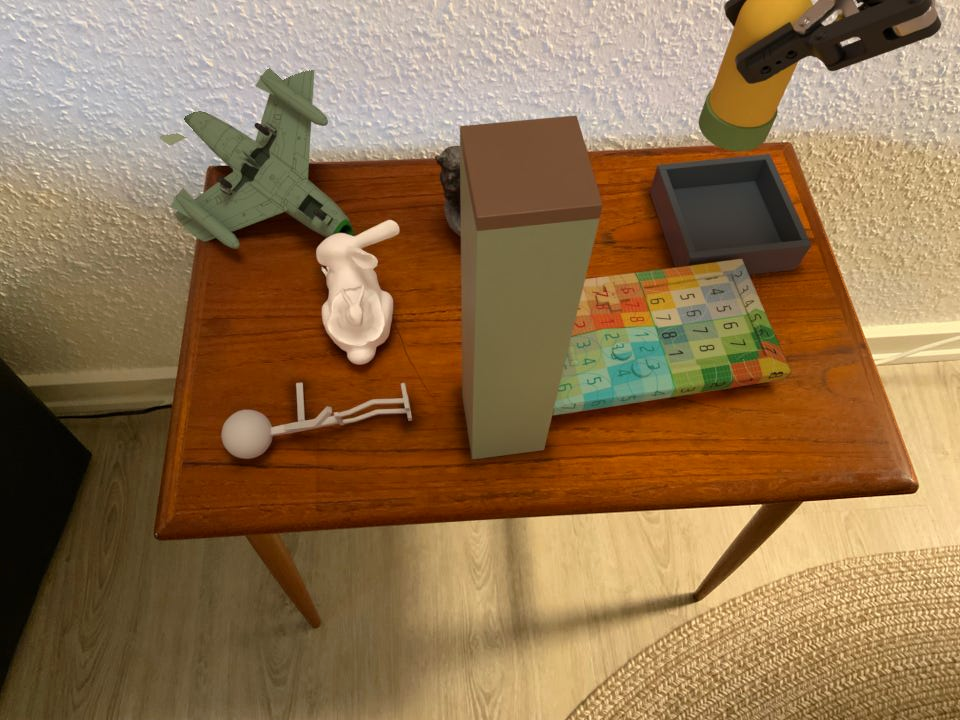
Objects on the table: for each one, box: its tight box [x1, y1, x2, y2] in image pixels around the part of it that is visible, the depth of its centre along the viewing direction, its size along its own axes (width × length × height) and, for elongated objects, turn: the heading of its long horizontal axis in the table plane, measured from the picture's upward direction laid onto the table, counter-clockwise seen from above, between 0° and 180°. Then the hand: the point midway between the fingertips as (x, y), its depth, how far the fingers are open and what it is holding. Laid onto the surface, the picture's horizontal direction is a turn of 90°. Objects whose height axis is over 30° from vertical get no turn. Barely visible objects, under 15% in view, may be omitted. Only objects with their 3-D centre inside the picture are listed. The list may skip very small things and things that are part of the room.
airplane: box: [158, 67, 355, 250], centre depth 73 cm, size 24×23×10 cm
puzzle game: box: [552, 259, 792, 416], centre depth 63 cm, size 12×5×20 cm
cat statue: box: [434, 145, 461, 238], centre depth 67 cm, size 12×7×10 cm, turn 86°
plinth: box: [459, 114, 604, 460], centre depth 49 cm, size 6×6×30 cm
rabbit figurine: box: [315, 219, 401, 366], centre depth 63 cm, size 12×8×10 cm, turn 10°
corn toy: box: [698, 0, 814, 152], centre depth 49 cm, size 5×5×11 cm
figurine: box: [220, 382, 413, 460], centre depth 59 cm, size 6×6×15 cm
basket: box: [649, 153, 812, 276], centre depth 71 cm, size 11×11×4 cm
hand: (736, 44), depth 48 cm, fingers closed on corn toy, 4 cm apart
